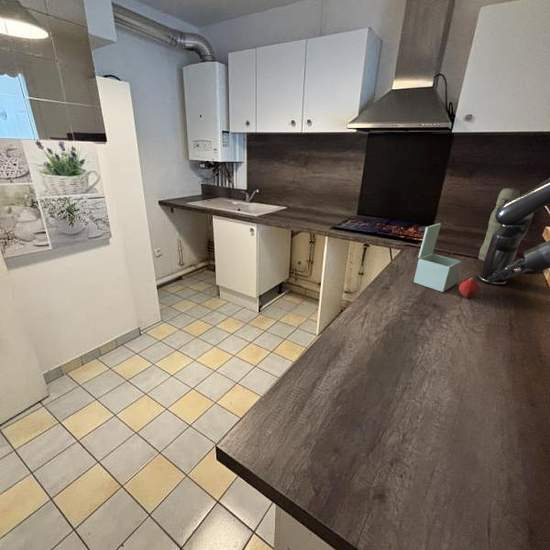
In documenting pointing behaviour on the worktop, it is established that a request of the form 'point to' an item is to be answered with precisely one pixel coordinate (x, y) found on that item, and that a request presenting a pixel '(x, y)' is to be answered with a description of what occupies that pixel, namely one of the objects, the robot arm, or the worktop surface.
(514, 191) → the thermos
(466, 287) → the onion
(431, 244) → the lid
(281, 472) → the worktop surface
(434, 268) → the light blue lidded box
